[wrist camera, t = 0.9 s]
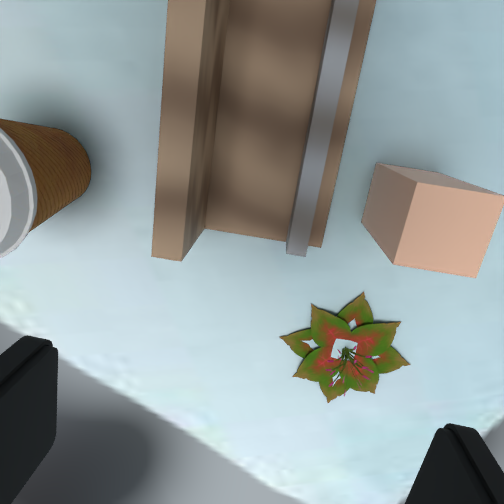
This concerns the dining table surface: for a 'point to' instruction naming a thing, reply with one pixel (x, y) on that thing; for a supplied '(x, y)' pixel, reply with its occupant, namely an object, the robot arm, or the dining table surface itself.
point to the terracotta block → (430, 219)
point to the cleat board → (254, 118)
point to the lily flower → (346, 350)
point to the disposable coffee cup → (36, 177)
